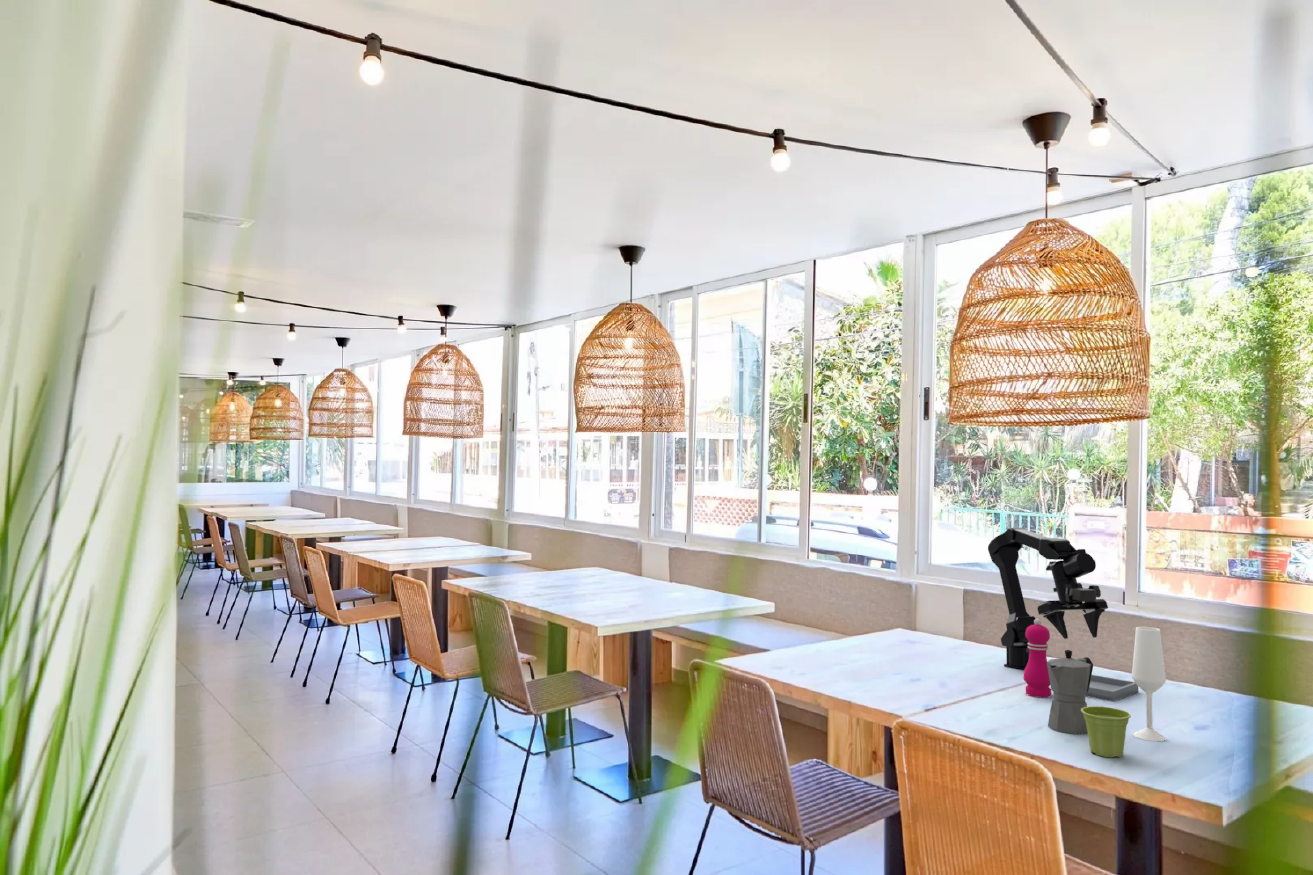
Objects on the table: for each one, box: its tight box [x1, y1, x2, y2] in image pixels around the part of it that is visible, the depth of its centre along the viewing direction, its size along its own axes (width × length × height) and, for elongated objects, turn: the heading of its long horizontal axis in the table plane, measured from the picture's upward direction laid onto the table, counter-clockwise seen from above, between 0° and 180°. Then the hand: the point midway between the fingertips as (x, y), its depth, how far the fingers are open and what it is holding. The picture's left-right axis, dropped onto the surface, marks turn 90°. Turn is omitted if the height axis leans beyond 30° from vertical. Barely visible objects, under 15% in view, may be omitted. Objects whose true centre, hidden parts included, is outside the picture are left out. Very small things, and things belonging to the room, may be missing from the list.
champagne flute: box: [1131, 626, 1168, 742], centre depth 196 cm, size 7×7×24 cm
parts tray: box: [1085, 674, 1139, 702], centre depth 237 cm, size 16×16×2 cm
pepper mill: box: [1023, 618, 1052, 698], centre depth 233 cm, size 7×7×20 cm
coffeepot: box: [1047, 649, 1094, 735], centre depth 202 cm, size 15×9×18 cm, turn 121°
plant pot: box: [1081, 705, 1132, 758], centre depth 184 cm, size 9×9×9 cm
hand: (1080, 637), depth 240 cm, fingers open, 9 cm apart
